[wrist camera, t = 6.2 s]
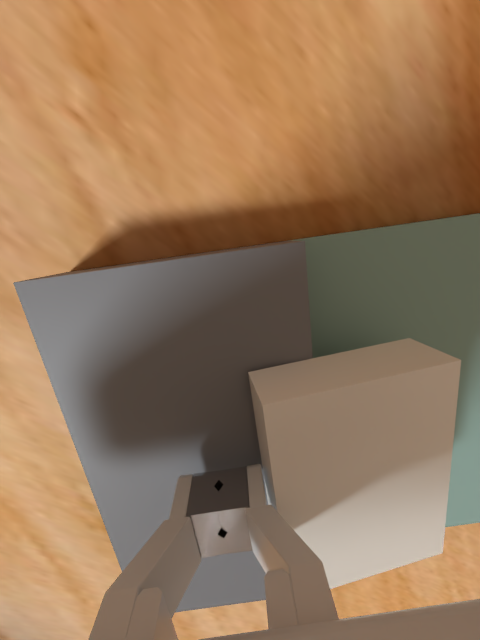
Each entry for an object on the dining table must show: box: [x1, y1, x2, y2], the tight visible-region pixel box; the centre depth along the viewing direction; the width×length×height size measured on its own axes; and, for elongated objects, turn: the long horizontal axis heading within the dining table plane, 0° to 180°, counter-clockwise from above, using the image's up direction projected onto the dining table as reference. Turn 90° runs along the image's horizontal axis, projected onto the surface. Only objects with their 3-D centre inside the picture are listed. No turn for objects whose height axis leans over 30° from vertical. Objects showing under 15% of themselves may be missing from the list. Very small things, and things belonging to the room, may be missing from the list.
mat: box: [288, 213, 480, 527], centre depth 13 cm, size 16×10×1 cm, turn 8°
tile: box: [248, 338, 461, 589], centre depth 10 cm, size 8×6×2 cm
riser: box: [14, 241, 313, 612], centre depth 12 cm, size 16×9×3 cm, turn 8°
